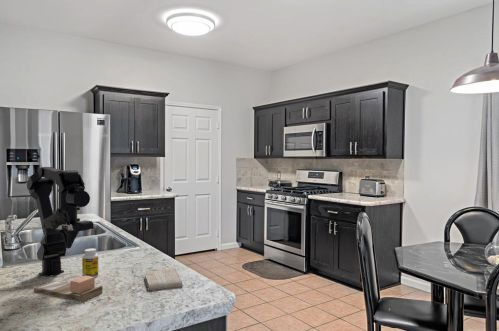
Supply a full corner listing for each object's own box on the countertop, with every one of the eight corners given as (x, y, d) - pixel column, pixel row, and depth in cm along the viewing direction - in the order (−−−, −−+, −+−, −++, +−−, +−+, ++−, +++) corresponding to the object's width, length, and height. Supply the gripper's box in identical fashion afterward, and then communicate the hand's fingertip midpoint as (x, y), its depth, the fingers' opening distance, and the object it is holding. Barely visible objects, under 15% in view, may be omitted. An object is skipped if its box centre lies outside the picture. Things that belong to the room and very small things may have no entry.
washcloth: (174, 273, 142) (174, 265, 142) (183, 288, 125) (183, 279, 125) (143, 276, 138) (143, 268, 138) (148, 292, 121) (148, 283, 121)
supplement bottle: (83, 280, 132) (83, 252, 132) (81, 276, 137) (81, 249, 137) (99, 277, 136) (99, 250, 135) (96, 273, 140) (96, 247, 140)
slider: (70, 291, 116) (70, 281, 116) (85, 285, 121) (85, 275, 121) (79, 293, 114) (79, 282, 114) (94, 287, 120) (94, 277, 120)
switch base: (33, 291, 121) (33, 284, 121) (55, 283, 128) (55, 277, 128) (82, 301, 112) (82, 294, 112) (102, 292, 120) (102, 286, 120)
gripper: (29, 206, 127) (29, 250, 127) (68, 209, 120) (68, 256, 120) (57, 203, 137) (57, 244, 137) (94, 205, 130) (94, 248, 130)
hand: (68, 248), depth 131 cm, fingers closed
